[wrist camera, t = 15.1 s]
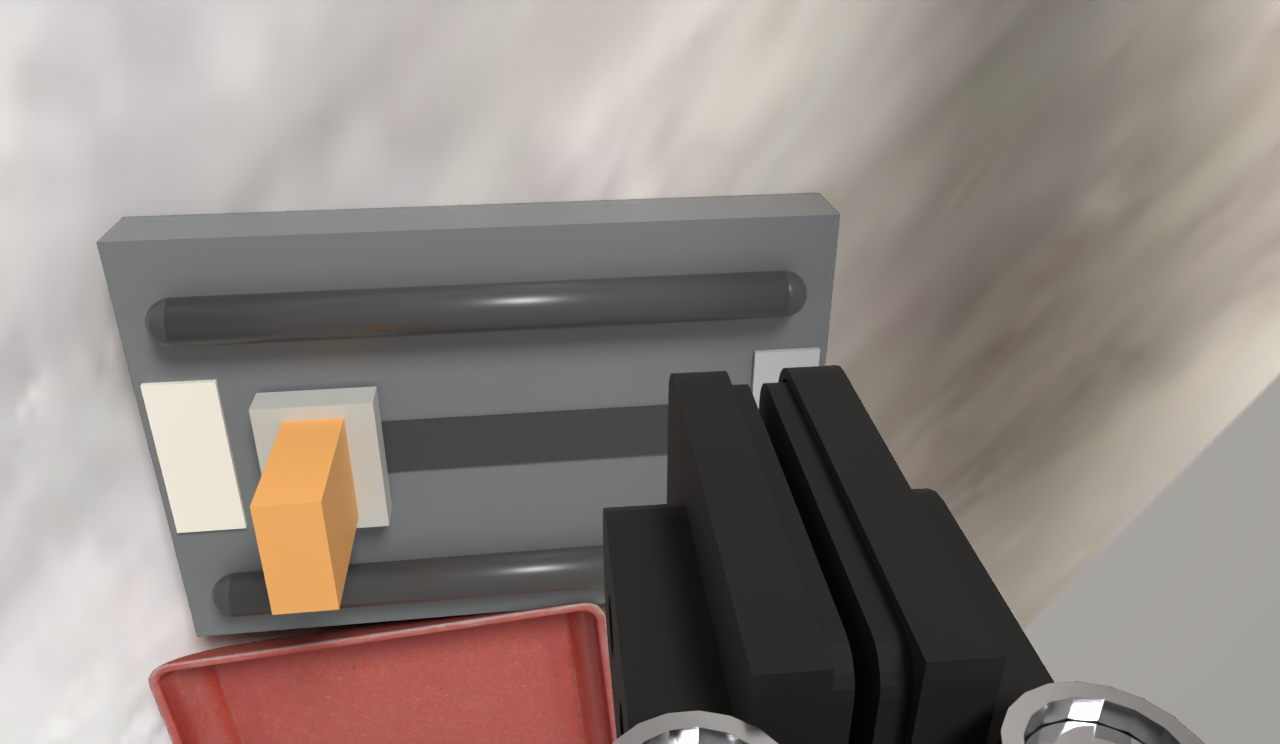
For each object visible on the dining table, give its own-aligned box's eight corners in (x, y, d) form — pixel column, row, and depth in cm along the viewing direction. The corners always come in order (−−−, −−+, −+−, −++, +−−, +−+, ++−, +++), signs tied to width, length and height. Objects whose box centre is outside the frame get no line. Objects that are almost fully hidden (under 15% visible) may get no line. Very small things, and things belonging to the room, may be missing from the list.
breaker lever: (376, 386, 34) (353, 485, 29) (392, 506, 37) (374, 619, 31) (256, 392, 34) (210, 494, 28) (279, 514, 36) (241, 630, 31)
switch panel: (818, 193, 36) (854, 229, 33) (787, 550, 43) (814, 612, 40) (123, 217, 33) (77, 260, 30) (213, 594, 41) (185, 666, 37)
